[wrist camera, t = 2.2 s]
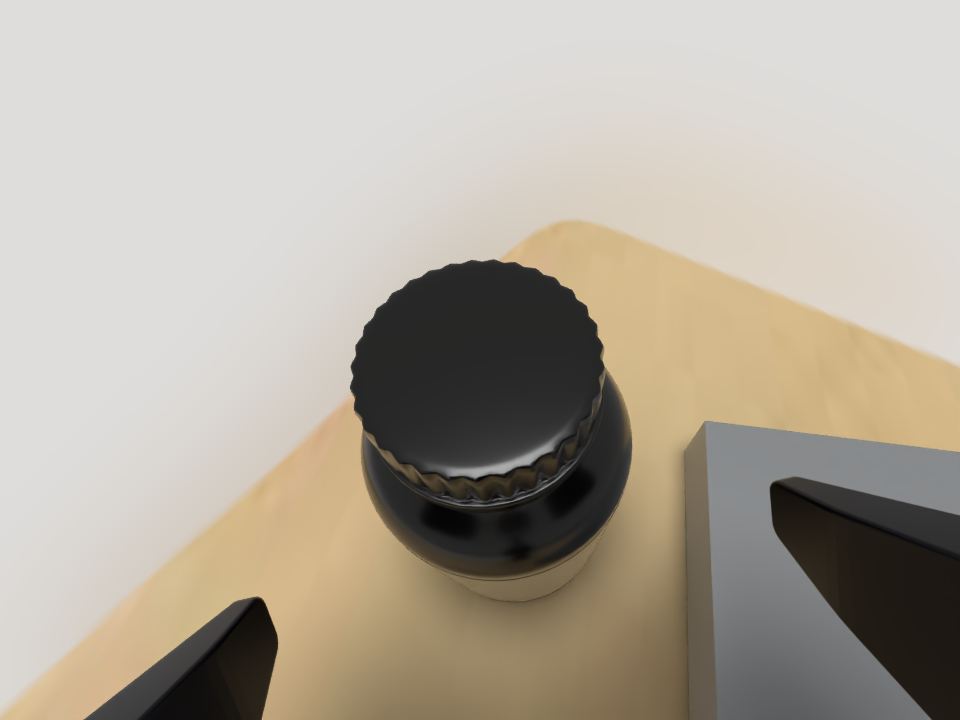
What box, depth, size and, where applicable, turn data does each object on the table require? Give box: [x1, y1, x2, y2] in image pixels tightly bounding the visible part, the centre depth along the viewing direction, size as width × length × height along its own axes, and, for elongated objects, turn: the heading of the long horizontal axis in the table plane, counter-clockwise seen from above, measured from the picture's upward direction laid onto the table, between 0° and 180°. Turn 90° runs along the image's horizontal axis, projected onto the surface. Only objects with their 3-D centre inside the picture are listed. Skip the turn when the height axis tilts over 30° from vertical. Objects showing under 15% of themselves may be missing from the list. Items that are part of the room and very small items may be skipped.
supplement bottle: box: [350, 259, 632, 602], centre depth 14 cm, size 7×7×12 cm
